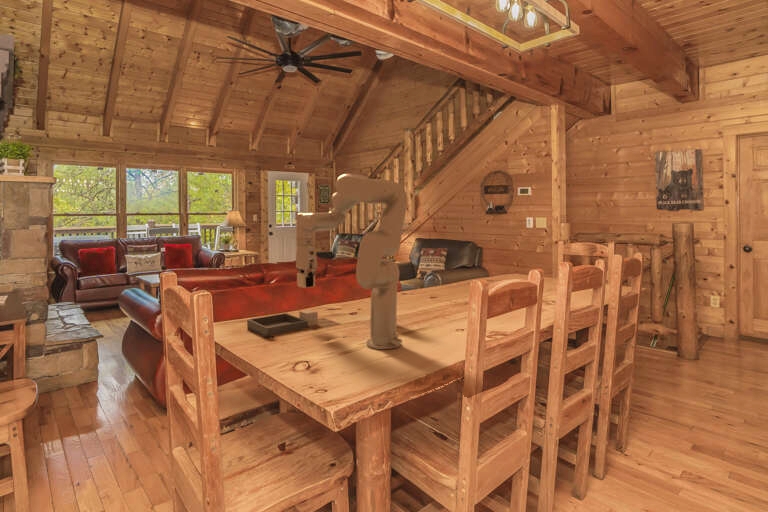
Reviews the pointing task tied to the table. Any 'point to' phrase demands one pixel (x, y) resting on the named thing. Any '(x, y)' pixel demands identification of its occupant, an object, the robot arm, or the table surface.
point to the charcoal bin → (276, 324)
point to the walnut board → (323, 324)
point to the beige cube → (309, 316)
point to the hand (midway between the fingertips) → (305, 285)
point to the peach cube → (303, 280)
